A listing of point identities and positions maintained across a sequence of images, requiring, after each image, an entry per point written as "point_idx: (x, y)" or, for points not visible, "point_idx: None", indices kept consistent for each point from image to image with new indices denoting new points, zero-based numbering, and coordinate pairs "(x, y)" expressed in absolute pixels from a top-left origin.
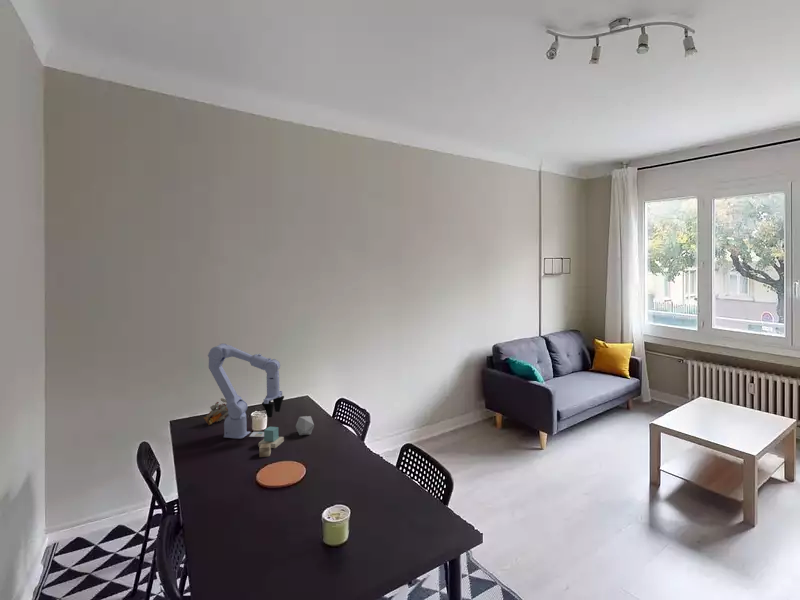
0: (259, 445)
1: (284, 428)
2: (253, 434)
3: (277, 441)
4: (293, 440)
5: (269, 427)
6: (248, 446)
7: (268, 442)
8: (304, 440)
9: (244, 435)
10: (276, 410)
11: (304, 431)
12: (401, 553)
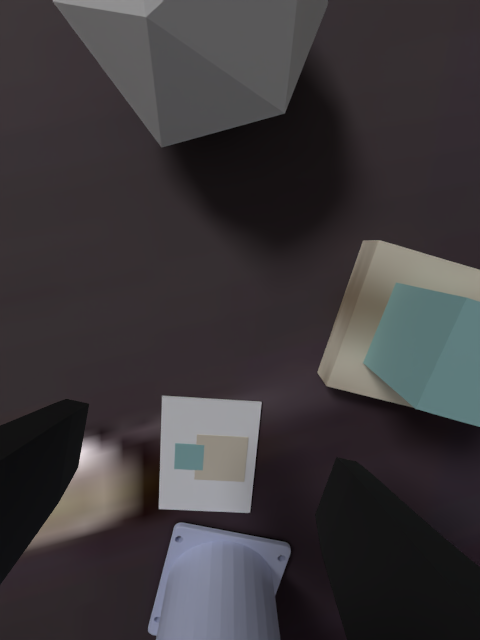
0: None
1: (77, 295)
2: (213, 493)
3: (471, 274)
4: (361, 156)
5: (452, 400)
6: (420, 466)
7: None
8: (376, 43)
9: (248, 543)
10: (70, 461)
11: (322, 11)
12: None
